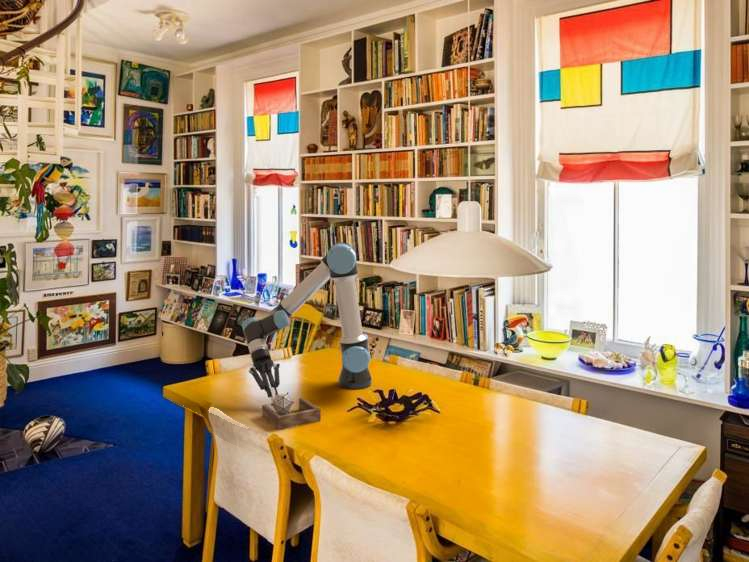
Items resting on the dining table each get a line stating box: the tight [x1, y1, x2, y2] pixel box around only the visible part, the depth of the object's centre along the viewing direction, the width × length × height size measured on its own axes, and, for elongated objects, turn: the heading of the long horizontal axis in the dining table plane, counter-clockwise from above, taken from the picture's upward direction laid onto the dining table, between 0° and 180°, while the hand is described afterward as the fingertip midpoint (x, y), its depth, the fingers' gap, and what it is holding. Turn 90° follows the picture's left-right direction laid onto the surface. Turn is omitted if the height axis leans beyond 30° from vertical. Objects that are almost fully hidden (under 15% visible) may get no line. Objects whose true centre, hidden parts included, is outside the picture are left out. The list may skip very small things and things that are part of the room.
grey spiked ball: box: [270, 392, 295, 414], centre depth 230 cm, size 9×8×10 cm
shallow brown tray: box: [261, 397, 322, 430], centre depth 225 cm, size 17×15×4 cm
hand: (275, 403), depth 233 cm, fingers closed
